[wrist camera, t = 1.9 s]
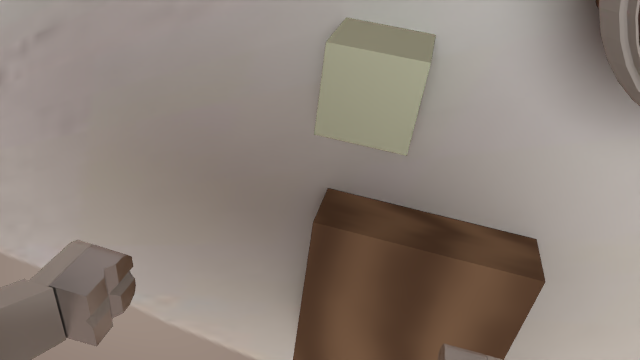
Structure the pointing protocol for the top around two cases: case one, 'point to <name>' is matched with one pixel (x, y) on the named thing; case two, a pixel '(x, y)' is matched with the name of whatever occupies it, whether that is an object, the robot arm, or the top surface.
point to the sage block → (373, 84)
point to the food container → (622, 41)
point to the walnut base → (410, 284)
